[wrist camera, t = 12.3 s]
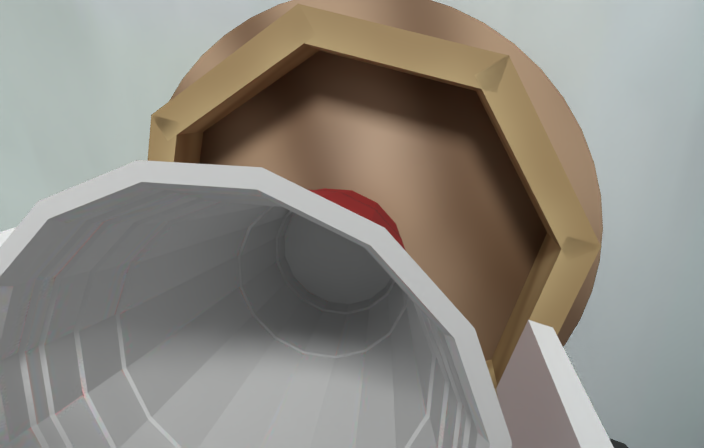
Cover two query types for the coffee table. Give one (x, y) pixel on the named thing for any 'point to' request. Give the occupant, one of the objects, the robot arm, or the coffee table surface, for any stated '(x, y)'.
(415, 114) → the ring base
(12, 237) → the plastic cup
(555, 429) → the robot arm
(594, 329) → the coffee table surface
